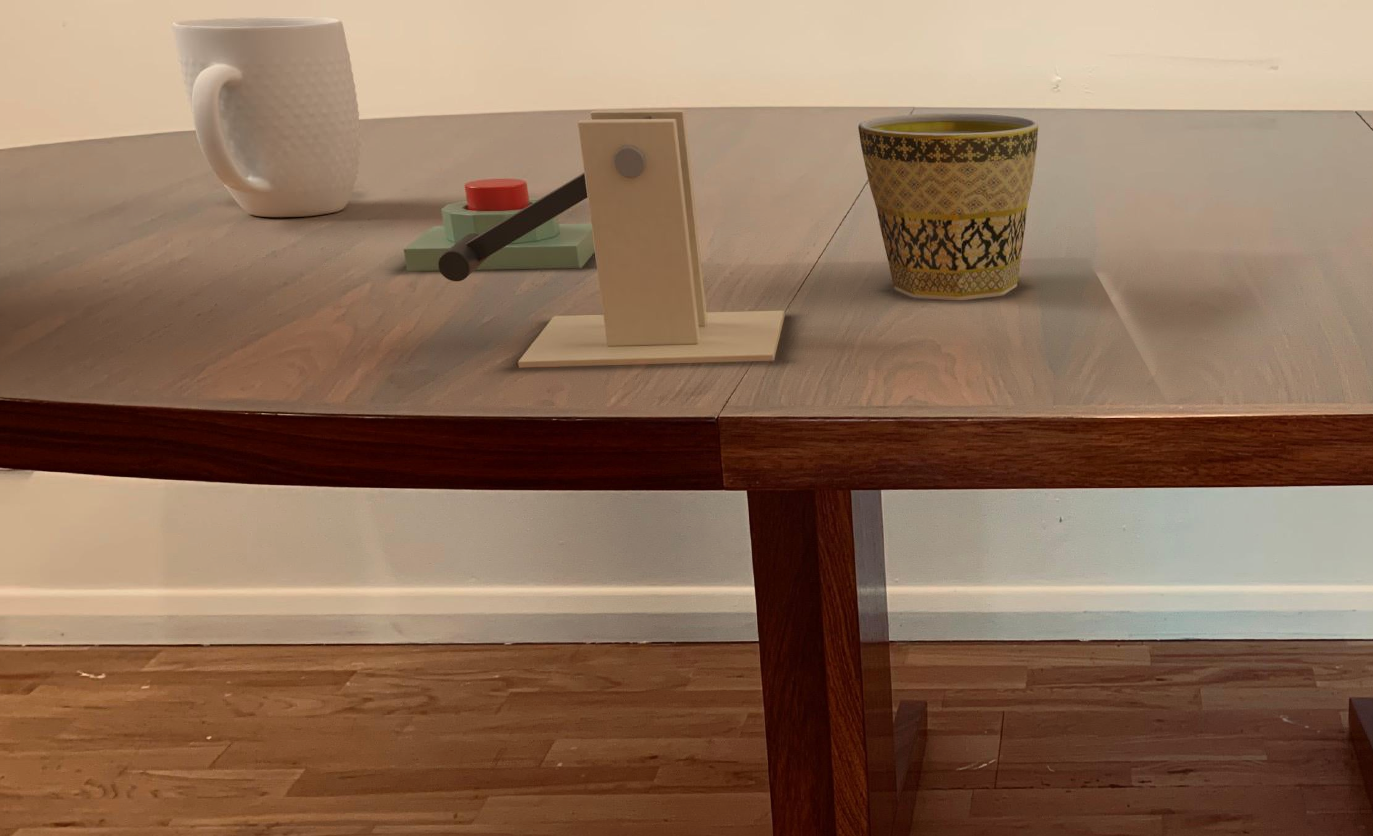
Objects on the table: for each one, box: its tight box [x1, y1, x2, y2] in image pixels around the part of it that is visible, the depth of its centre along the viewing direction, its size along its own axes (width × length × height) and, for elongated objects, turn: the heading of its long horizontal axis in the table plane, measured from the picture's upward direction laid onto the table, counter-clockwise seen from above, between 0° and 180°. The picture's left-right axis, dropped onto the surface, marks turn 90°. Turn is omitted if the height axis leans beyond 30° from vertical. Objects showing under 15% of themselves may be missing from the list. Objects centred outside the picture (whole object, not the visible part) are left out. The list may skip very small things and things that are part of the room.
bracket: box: [517, 108, 786, 369], centre depth 86 cm, size 12×10×12 cm
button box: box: [403, 197, 595, 272], centre depth 108 cm, size 10×8×4 cm
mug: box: [172, 16, 361, 218], centre depth 124 cm, size 15×11×13 cm
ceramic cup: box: [858, 112, 1039, 301], centre depth 100 cm, size 13×10×10 cm
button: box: [464, 178, 530, 211], centre depth 107 cm, size 4×4×2 cm
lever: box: [438, 116, 652, 282], centre depth 85 cm, size 12×5×2 cm, turn 99°
